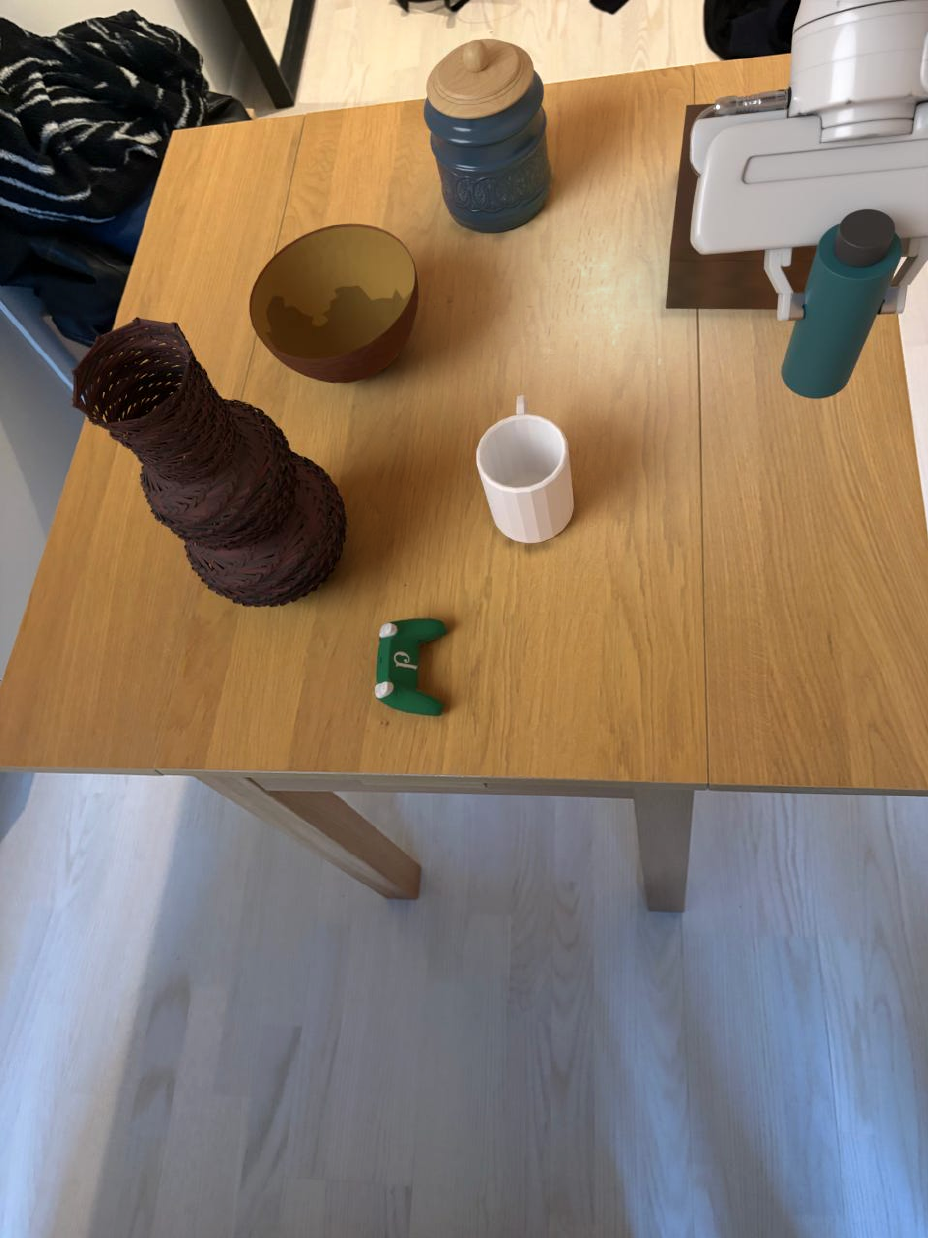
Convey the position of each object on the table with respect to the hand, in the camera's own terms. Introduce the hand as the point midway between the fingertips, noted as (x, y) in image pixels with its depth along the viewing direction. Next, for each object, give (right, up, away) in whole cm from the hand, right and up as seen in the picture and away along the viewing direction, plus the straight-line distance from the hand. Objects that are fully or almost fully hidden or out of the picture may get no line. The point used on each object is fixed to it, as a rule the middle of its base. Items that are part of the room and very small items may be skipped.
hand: (839, 317), depth 55 cm
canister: (-22, +30, +40) cm, 55 cm away
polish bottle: (+1, -2, +6) cm, 7 cm away
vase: (-43, -15, +26) cm, 53 cm away
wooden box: (+4, +21, +31) cm, 38 cm away
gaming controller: (-30, -26, +19) cm, 44 cm away
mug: (-19, -8, +24) cm, 32 cm away
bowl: (-38, +9, +35) cm, 52 cm away
